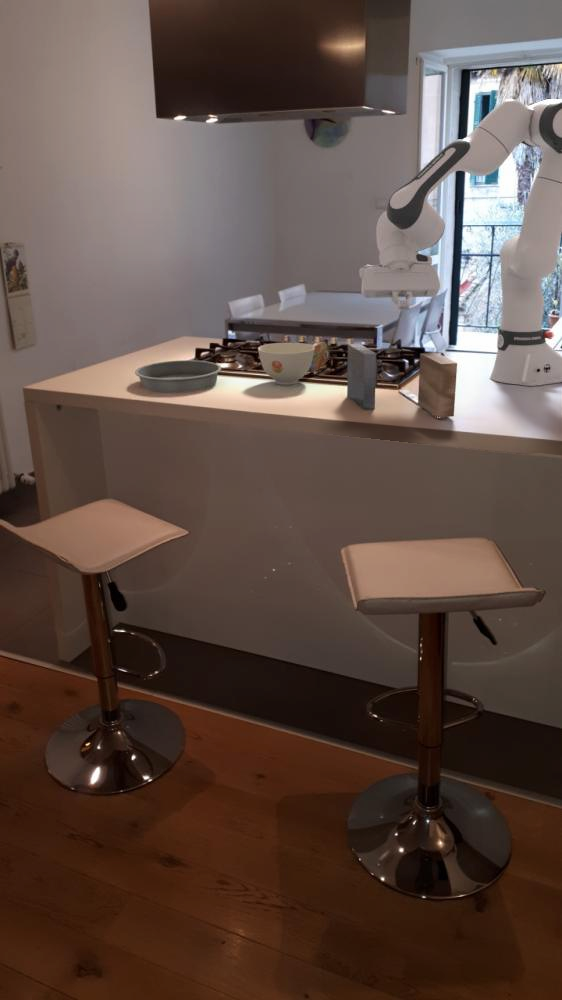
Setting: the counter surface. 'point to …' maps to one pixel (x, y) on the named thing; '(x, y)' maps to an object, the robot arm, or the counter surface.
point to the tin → (319, 356)
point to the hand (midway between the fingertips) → (403, 308)
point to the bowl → (286, 361)
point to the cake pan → (178, 375)
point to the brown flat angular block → (437, 384)
